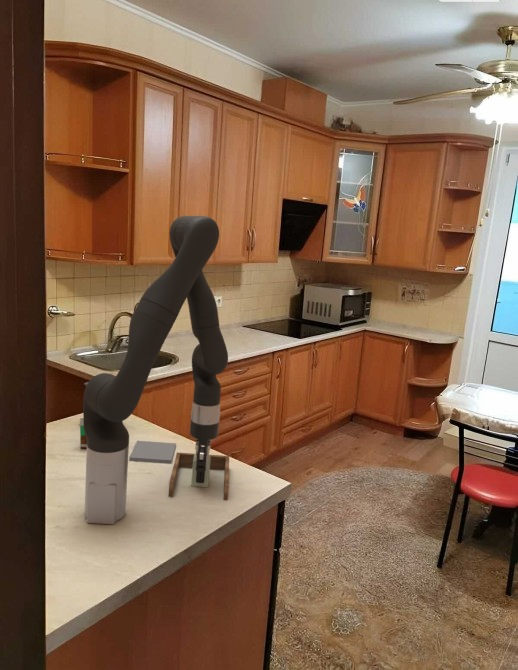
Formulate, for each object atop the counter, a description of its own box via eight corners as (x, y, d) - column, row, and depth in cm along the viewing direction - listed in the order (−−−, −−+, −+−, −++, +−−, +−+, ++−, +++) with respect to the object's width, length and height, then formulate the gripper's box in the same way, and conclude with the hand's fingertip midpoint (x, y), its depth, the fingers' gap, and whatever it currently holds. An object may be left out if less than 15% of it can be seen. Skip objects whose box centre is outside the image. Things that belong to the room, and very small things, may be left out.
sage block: (208, 486, 137) (210, 462, 136) (191, 485, 137) (193, 461, 136) (208, 478, 142) (210, 455, 140) (192, 477, 142) (194, 454, 140)
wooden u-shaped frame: (227, 500, 132) (228, 485, 131) (168, 496, 131) (169, 481, 130) (228, 468, 149) (229, 456, 148) (176, 465, 148) (176, 452, 147)
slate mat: (171, 463, 149) (171, 460, 148) (129, 460, 148) (129, 457, 148) (175, 446, 160) (176, 443, 160) (137, 443, 160) (137, 440, 159)
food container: (99, 453, 151) (100, 420, 149) (78, 451, 151) (79, 418, 149) (112, 436, 163) (113, 406, 161) (92, 434, 163) (93, 404, 161)
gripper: (218, 429, 129) (213, 492, 132) (220, 410, 143) (215, 466, 146) (188, 427, 129) (184, 490, 132) (193, 408, 143) (188, 465, 146)
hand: (200, 477), depth 139 cm, fingers closed on sage block, 4 cm apart
